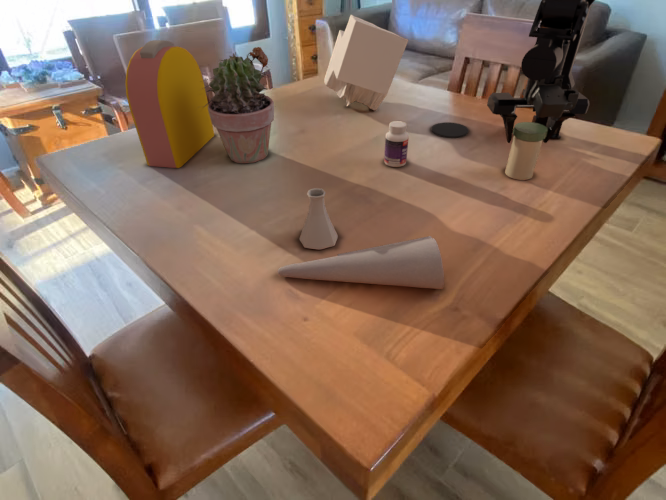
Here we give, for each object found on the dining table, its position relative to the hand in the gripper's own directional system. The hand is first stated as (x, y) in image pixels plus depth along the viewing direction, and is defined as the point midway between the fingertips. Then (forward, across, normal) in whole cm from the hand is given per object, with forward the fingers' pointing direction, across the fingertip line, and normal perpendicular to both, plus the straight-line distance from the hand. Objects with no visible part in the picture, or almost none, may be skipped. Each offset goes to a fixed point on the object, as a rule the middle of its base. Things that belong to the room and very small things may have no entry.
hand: (526, 142), depth 93 cm
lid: (-3, 0, 0) cm, 3 cm away
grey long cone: (+8, -37, -38) cm, 54 cm away
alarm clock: (+8, -83, +15) cm, 85 cm away
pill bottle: (+8, -28, +6) cm, 29 cm away
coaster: (+8, -11, +26) cm, 29 cm away
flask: (+8, -44, -26) cm, 52 cm away
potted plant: (+8, -65, +10) cm, 67 cm away
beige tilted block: (+8, -35, +48) cm, 60 cm away
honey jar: (+8, 0, 0) cm, 8 cm away
